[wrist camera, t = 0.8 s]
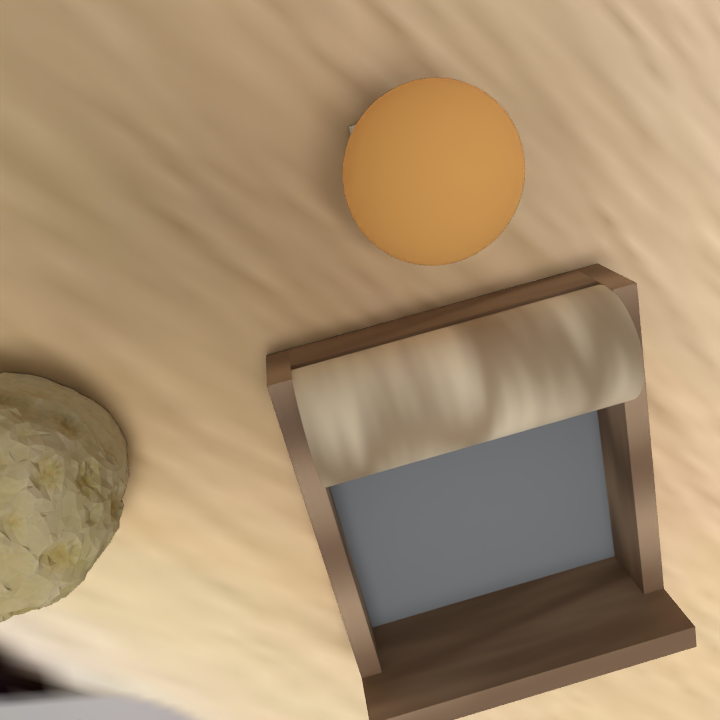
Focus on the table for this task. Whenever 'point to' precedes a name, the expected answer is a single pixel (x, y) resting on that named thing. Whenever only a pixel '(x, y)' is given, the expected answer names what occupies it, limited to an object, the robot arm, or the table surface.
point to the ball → (433, 171)
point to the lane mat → (477, 518)
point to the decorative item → (54, 489)
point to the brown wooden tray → (471, 427)
